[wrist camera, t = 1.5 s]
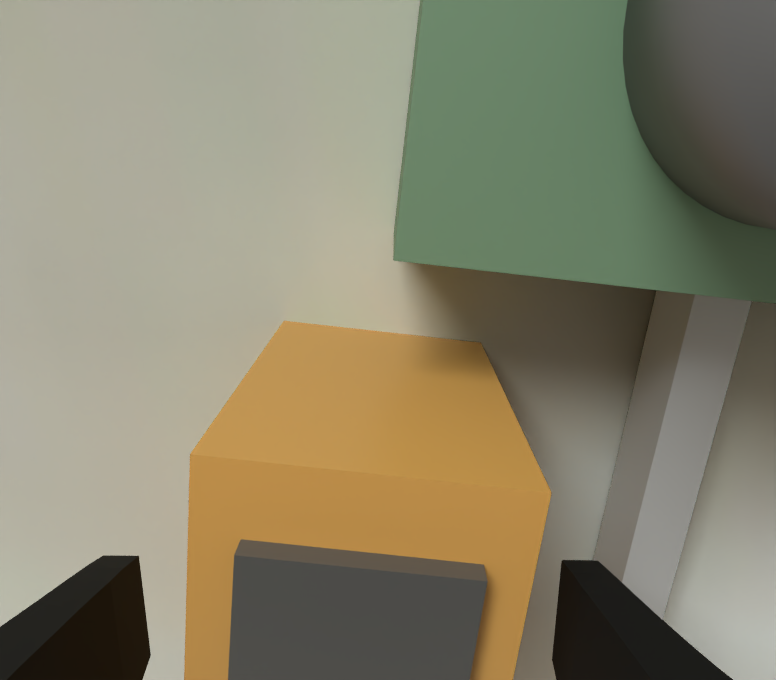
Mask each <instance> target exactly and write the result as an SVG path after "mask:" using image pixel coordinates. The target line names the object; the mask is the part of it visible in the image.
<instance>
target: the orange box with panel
mask: <svg viewBox="0 0 776 680" xmlns="http://www.w3.org/2000/svg"><path fill="white" fill-rule="evenodd" d="M550 498H551V491H550V488H549V486H548V484H547V482H546V480H545V478H544V476H543V474H542V471H541V469H540V467H539V465H538V463H537V461H536V459H535V457H534V454H533V452H532V450H531V448H530V446H529V444H528V442H527V440H526V438H525V435H524V433H523V431H522V429H521V427H520V425H519V423H518V421H517V418H516V416H515V414H514V412H513V410H512V408H511V406H510V404H509V401H508V399H507V397H506V395H505V393H504V391H503V389H502V387H501V384H500V382H499V380H498V378H497V376H496V374H495V372H494V370H493V367H492V365H491V363H490V361H489V359H488V357H487V355H486V353H485V351H484V348H483V346H482V344H481V343H479V342H470V341H461V340H452V339H443V338H434V337H425V336H416V335H407V334H398V333H389V332H380V331H371V330H362V329H353V328H344V327H335V326H326V325H317V324H308V323H299V322H290V321H283V323H282V324H281V326H280V327H279V329H278V330H277V331H276V333H275V334H274V336H273V337H272V338H271V340H270V341H269V343H268V344H267V346H266V347H265V348H264V350H263V351H262V353H261V354H260V356H259V357H258V358H257V360H256V361H255V363H254V364H253V366H252V367H251V368H250V370H249V371H248V373H247V374H246V375H245V377H244V378H243V380H242V381H241V383H240V384H239V385H238V387H237V388H236V390H235V391H234V393H233V394H232V395H231V397H230V398H229V400H228V401H227V403H226V404H225V405H224V407H223V408H222V410H221V411H220V412H219V414H218V415H217V417H216V418H215V420H214V421H213V422H212V424H211V425H210V427H209V428H208V430H207V431H206V432H205V434H204V435H203V437H202V438H201V440H200V441H199V442H198V444H197V445H196V447H195V448H194V449H193V451H192V452H191V454H190V478H189V517H188V556H187V595H186V634H185V673H184V680H513V676H514V672H515V667H516V662H517V657H518V652H519V647H520V643H521V638H522V633H523V628H524V623H525V618H526V614H527V609H528V604H529V599H530V594H531V590H532V585H533V580H534V575H535V570H536V565H537V561H538V556H539V551H540V546H541V541H542V537H543V532H544V527H545V522H546V517H547V512H548V508H549V503H550Z"/></svg>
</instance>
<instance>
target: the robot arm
mask: <svg viewBox="0 0 776 680" xmlns="http://www.w3.org/2000/svg"><path fill="white" fill-rule="evenodd" d="M150 656H151V654H150V646H149V638H148V629H147V621H146V613H145V604H144V596H143V588H142V579H141V571H140V563H139V556H102V557H100V558H99V559H97V560H95V561H94V562H92V563H91V564H89V565H88V566H86V567H85V568H83V569H82V570H80V571H79V572H78V573H76V574H75V575H73V576H72V577H70V578H69V579H68V580H66V581H65V582H63V583H62V584H60V585H59V586H58V587H56V588H55V589H53V590H52V591H51V592H49V593H48V594H46V595H45V596H44V597H42V598H41V599H39V600H38V601H37V602H35V603H34V604H32V605H31V606H29V607H28V608H27V609H25V610H24V611H22V612H21V613H19V614H18V615H17V616H15V617H14V618H12V619H11V620H9V621H8V622H7V623H5V624H4V625H2V626H1V627H0V680H142V679H143V676H144V673H145V670H146V667H147V664H148V661H149V658H150ZM552 661H553V665H554V670H555V675H556V679H557V680H733V679H731V678H730V677H729V676H728V675H726V674H725V673H724V672H723V671H721V670H720V669H719V668H718V667H716V666H715V665H714V664H713V663H712V662H710V661H709V660H708V659H707V658H706V657H704V656H703V655H702V654H701V653H700V652H698V651H697V650H696V649H695V648H694V647H693V646H691V645H690V644H689V643H688V642H687V641H686V640H685V639H683V638H682V637H681V636H680V635H679V634H678V633H677V632H675V631H674V630H673V629H672V628H671V627H670V626H669V625H668V624H666V623H665V622H664V621H663V620H662V619H661V618H660V617H659V616H658V615H657V614H655V613H654V612H653V611H652V610H651V609H650V608H649V607H648V606H647V605H646V604H645V603H644V602H642V601H641V600H640V599H639V598H638V597H637V596H636V595H635V594H634V593H633V592H632V591H631V590H630V589H628V588H627V587H626V586H625V585H624V584H623V583H622V582H621V581H620V580H619V579H618V578H617V577H616V576H614V575H613V574H612V573H611V572H610V571H609V570H608V569H607V568H606V567H605V566H603V565H602V564H601V563H600V562H599V561H588V560H562V563H561V573H560V584H559V594H558V605H557V615H556V626H555V636H554V646H553V657H552Z"/></svg>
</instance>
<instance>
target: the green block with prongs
mask: <svg viewBox="0 0 776 680" xmlns="http://www.w3.org/2000/svg"><path fill="white" fill-rule="evenodd" d="M393 260H394V261H403V262H412V263H420V264H429V265H438V266H447V267H456V268H465V269H473V270H482V271H491V272H500V273H509V274H518V275H527V276H535V277H544V278H553V279H562V280H571V281H580V282H588V283H597V284H606V285H615V286H624V287H633V288H641V289H650V290H656V295H655V299H654V303H653V307H652V312H651V316H650V320H649V324H648V329H647V333H646V337H645V341H644V346H643V350H642V354H641V358H640V363H639V367H638V371H637V375H636V380H635V384H634V388H633V392H632V397H631V401H630V405H629V409H628V414H627V418H626V422H625V426H624V431H623V435H622V439H621V443H620V447H619V452H618V456H617V460H616V464H615V469H614V473H613V477H612V481H611V486H610V490H609V494H608V498H607V503H606V507H605V511H604V515H603V520H602V524H601V528H600V532H599V537H598V541H597V545H596V549H595V554H594V558H593V561H599V562H600V563H601V564H602V565H603V566H605V567H606V568H607V569H608V570H609V571H610V572H611V573H612V574H613V575H614V576H616V577H617V578H618V579H619V580H620V581H621V582H622V583H623V584H624V585H625V586H626V587H627V588H628V589H630V590H631V591H632V592H633V593H634V594H635V595H636V596H637V597H638V598H639V599H640V600H641V601H642V602H644V603H645V604H646V605H647V606H648V607H649V608H650V609H651V610H652V611H653V612H654V613H655V614H657V615H658V616H659V617H660V618H661V619H662V620H663V617H664V613H665V610H666V606H667V603H668V599H669V595H670V592H671V588H672V585H673V581H674V578H675V574H676V570H677V567H678V563H679V560H680V556H681V553H682V549H683V546H684V542H685V538H686V535H687V531H688V528H689V524H690V521H691V517H692V513H693V510H694V506H695V503H696V499H697V496H698V492H699V488H700V485H701V481H702V478H703V474H704V471H705V467H706V463H707V460H708V456H709V453H710V449H711V446H712V442H713V439H714V435H715V431H716V428H717V424H718V421H719V417H720V414H721V410H722V406H723V403H724V399H725V396H726V392H727V389H728V385H729V381H730V378H731V374H732V371H733V367H734V364H735V360H736V356H737V353H738V349H739V346H740V342H741V339H742V335H743V331H744V328H745V324H746V321H747V317H748V314H749V310H750V307H751V303H752V301H756V302H765V303H774V304H776V0H420V7H419V16H418V25H417V34H416V43H415V51H414V60H413V69H412V78H411V87H410V95H409V104H408V113H407V122H406V131H405V139H404V148H403V157H402V166H401V175H400V184H399V192H398V201H397V210H396V219H395V228H394V259H393Z"/></svg>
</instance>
